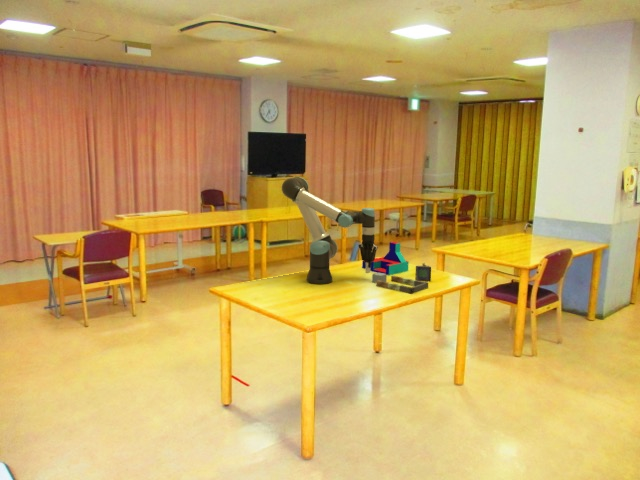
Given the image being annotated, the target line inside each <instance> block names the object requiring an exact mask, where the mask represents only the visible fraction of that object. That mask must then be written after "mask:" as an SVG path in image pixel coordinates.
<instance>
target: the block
mask: <svg viewBox="0 0 640 480" xmlns="http://www.w3.org/2000/svg"><path fill="white" fill-rule="evenodd" d="M387 276H388V275H387V274H384V273H379V272H378V273H377V272H374V273H372V275H371V277H372V279H371V282H372V283H374V284H376V281H378V280H380V281H384V282H387V280H388V277H387Z"/></svg>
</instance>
